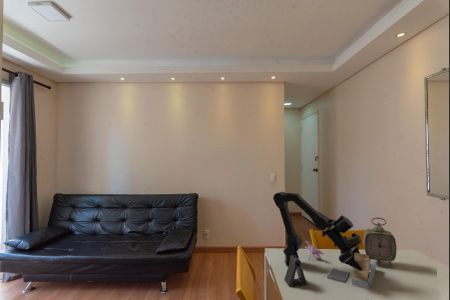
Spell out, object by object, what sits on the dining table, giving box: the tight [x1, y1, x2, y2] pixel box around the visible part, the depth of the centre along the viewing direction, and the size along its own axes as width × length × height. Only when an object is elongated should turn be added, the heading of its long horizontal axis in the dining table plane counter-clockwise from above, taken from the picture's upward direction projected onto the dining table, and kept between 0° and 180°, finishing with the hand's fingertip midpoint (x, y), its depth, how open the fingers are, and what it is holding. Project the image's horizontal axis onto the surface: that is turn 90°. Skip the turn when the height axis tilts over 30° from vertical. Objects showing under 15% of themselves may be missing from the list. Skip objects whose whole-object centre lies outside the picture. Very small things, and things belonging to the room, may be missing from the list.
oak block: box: [352, 252, 370, 282], centre depth 123 cm, size 6×6×12 cm
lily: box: [304, 240, 325, 260], centre depth 149 cm, size 12×12×10 cm
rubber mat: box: [326, 268, 350, 283], centre depth 129 cm, size 8×11×1 cm
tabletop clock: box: [362, 217, 398, 268], centre depth 142 cm, size 14×9×25 cm, turn 68°
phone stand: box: [284, 255, 309, 288], centre depth 123 cm, size 9×6×12 cm, turn 97°
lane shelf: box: [351, 261, 377, 290], centre depth 127 cm, size 7×22×4 cm, turn 145°
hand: (363, 266), depth 123 cm, fingers open, 9 cm apart
